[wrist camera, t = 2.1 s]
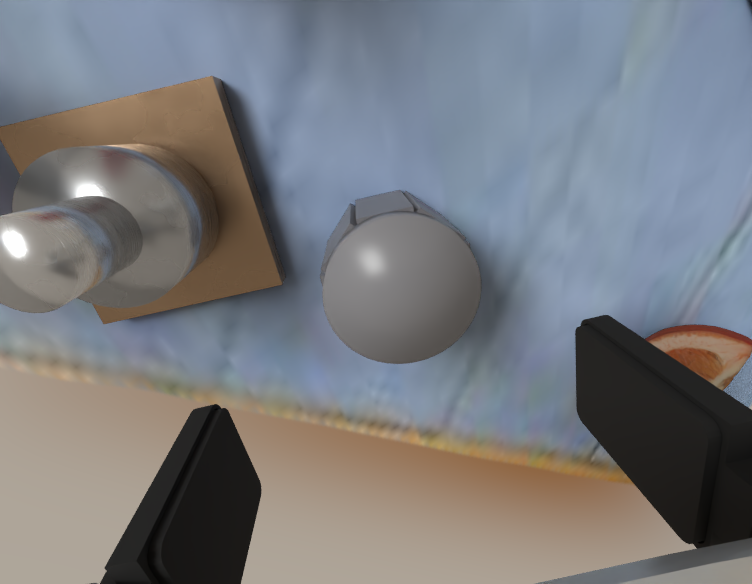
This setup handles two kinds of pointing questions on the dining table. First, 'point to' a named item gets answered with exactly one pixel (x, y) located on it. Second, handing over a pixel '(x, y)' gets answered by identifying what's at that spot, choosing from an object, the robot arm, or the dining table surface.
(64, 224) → the stud
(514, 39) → the dining table surface
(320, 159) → the dining table surface
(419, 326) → the cap
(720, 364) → the fruit slice
